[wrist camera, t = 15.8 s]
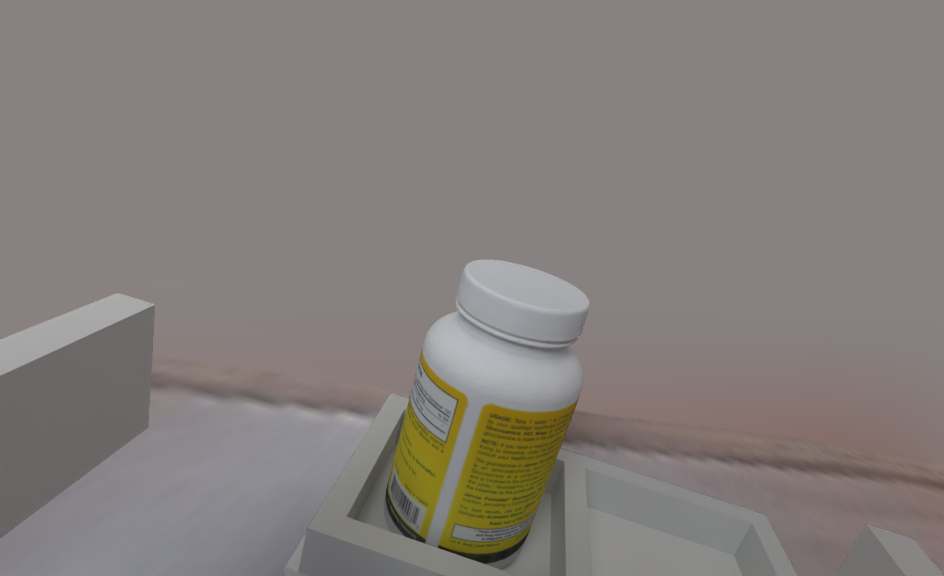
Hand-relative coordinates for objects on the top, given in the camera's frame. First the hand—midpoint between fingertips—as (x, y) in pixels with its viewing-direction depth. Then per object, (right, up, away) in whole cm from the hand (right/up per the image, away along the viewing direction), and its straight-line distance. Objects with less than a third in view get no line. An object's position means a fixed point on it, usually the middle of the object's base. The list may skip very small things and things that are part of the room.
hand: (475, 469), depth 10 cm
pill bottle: (-1, -7, +13) cm, 15 cm away
